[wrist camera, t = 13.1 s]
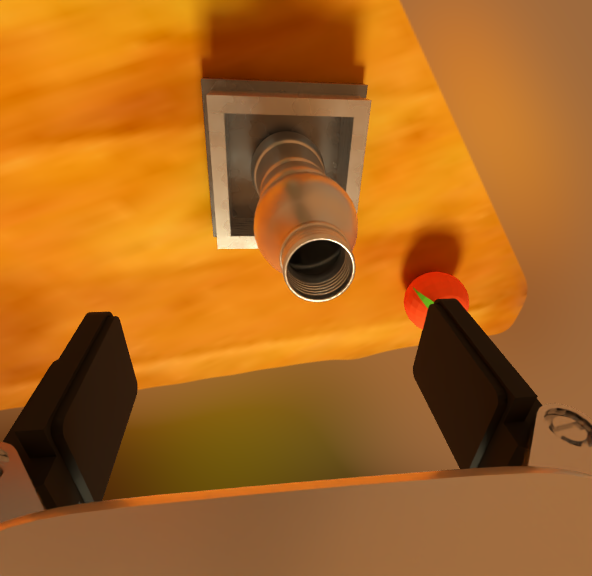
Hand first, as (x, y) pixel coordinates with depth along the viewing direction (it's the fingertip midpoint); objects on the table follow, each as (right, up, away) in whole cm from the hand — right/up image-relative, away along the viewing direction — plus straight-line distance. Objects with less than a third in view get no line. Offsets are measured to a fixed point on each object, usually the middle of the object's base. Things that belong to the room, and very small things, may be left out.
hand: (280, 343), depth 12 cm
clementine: (+16, +2, +34) cm, 38 cm away
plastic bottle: (-1, +13, +24) cm, 27 cm away
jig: (-1, +14, +25) cm, 29 cm away
